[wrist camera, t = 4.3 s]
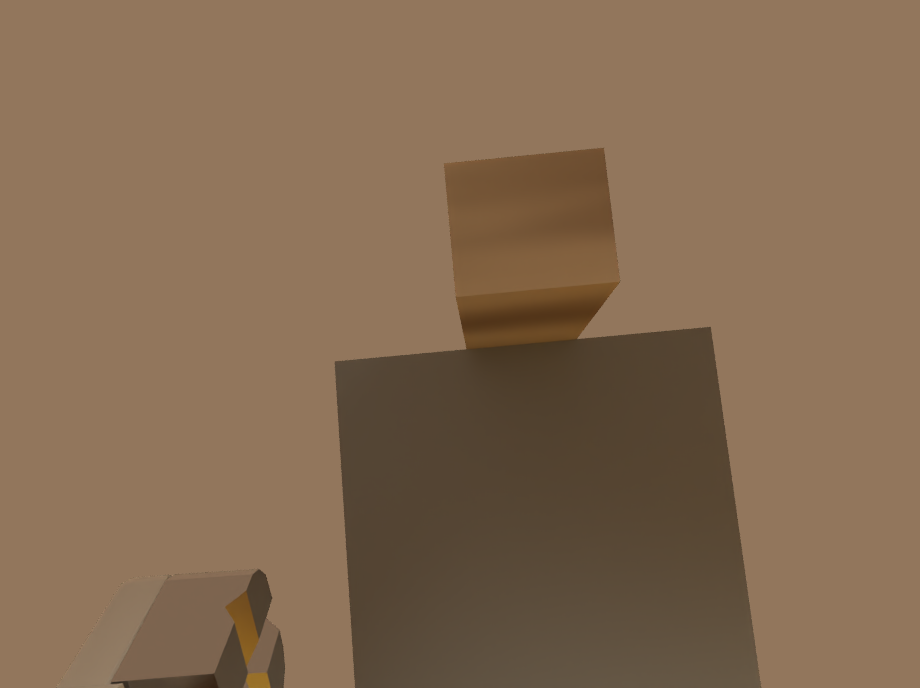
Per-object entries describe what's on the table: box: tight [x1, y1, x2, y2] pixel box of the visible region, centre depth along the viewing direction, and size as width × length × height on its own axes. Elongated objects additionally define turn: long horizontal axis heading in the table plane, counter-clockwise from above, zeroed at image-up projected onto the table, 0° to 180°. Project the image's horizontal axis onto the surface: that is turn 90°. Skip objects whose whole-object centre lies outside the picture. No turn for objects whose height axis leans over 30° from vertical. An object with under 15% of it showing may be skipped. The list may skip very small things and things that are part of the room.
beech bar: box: [444, 148, 620, 349], centre depth 25 cm, size 19×4×3 cm, turn 178°
